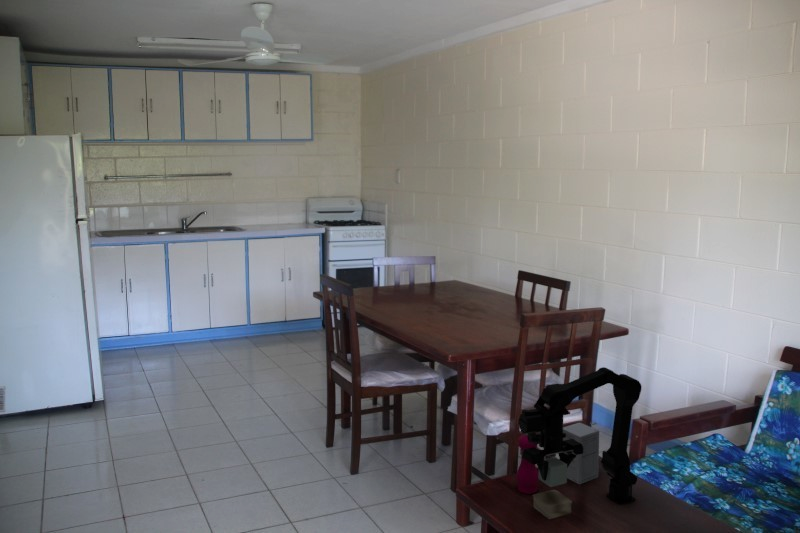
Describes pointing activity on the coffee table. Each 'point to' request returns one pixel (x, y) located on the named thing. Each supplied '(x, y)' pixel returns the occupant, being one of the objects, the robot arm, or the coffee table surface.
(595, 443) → the supplement box
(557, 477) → the sage block
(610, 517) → the coffee table surface
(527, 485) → the pepper mill
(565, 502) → the oak box
